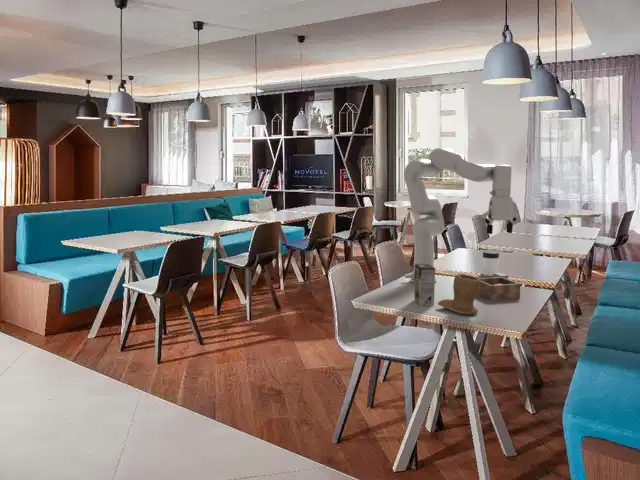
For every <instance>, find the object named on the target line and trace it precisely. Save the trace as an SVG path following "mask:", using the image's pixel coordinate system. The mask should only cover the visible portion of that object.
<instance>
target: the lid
mask: <svg viewBox="0 0 640 480" xmlns="http://www.w3.org/2000/svg"><path fill="white" fill-rule="evenodd" d="M494 277H503V278H506V279H509V275H507V274H505V273H502V272H498V273H493V276H491V278H494Z"/></svg>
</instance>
